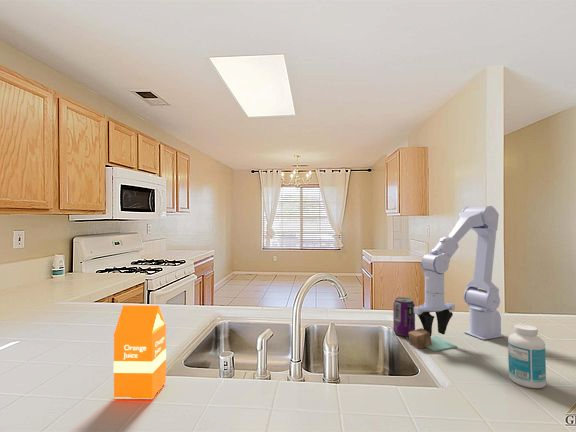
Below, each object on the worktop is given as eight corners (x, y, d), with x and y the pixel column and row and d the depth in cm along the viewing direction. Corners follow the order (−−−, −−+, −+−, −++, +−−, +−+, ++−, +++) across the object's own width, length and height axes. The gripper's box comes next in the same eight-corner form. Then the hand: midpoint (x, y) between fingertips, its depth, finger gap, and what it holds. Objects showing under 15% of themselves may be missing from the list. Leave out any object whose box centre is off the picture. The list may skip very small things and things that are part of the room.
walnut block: (421, 328, 107) (408, 332, 105) (429, 332, 103) (416, 336, 102) (423, 340, 107) (410, 344, 106) (431, 344, 103) (418, 349, 102)
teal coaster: (435, 337, 111) (435, 336, 111) (457, 347, 103) (457, 346, 103) (413, 340, 108) (413, 339, 108) (433, 351, 100) (433, 349, 100)
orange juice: (130, 382, 81) (130, 301, 82) (166, 383, 81) (166, 301, 81) (113, 400, 74) (113, 310, 74) (152, 400, 73) (152, 310, 73)
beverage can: (416, 338, 111) (416, 302, 111) (394, 336, 112) (394, 301, 112) (413, 331, 118) (413, 297, 118) (392, 329, 119) (392, 296, 119)
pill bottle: (539, 377, 83) (538, 323, 83) (551, 392, 76) (551, 333, 76) (504, 373, 86) (504, 320, 86) (513, 386, 79) (513, 330, 79)
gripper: (442, 287, 112) (443, 327, 112) (407, 290, 107) (407, 332, 107) (459, 292, 105) (460, 334, 105) (422, 295, 100) (423, 340, 100)
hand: (434, 334), depth 106 cm, fingers open, 5 cm apart
